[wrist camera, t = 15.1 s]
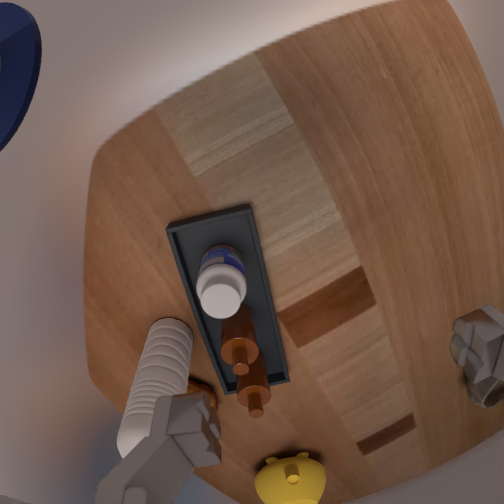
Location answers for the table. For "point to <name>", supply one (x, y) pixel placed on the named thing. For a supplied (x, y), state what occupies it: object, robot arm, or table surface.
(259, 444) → the table surface
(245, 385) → the amber bottle
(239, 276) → the pill bottle
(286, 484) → the teapot
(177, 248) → the tray
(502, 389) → the bowl
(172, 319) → the water bottle
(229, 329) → the amber bottle
